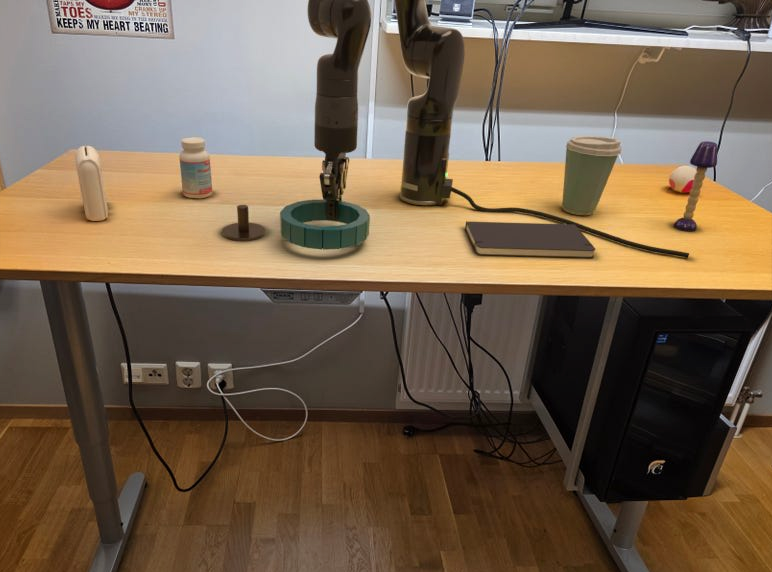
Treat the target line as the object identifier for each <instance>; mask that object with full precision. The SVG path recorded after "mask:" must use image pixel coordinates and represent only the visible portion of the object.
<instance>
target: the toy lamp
mask: <svg viewBox="0 0 772 572" xmlns="http://www.w3.org/2000/svg"><path fill="white" fill-rule="evenodd" d="M689 164H690V165H691V166H694V167H696V171H697V173H696V174H695V176H694V181H693V184H692V189H691V191H689V192H690V193H689V196H688V198H687V204H685V211H684V212H683V216H682V217H680V218H677V220H675V222H674V223H673V227H674V228H675V229H677V230H679V231H684V232H695V231H696V230H697V229H698V225H697V222H696V221H695V220H694V219H693V218H694V214H695V213H694V212H695V211H696V207H697V203H698V202H699V196H700V195H701V189H702V188H703V186H704V185H703V184H704V183H703V181H704V180H705V178H706V173H707V171H708V169H711V168H715V167H716V166H717V164H718V143H716V142H715V141H709V140H708V141H701V142H700V143H699V144H698V146H697V148H696V149H695V151H694V153H693V154H692V156H691V158H690V160H689Z"/></svg>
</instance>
